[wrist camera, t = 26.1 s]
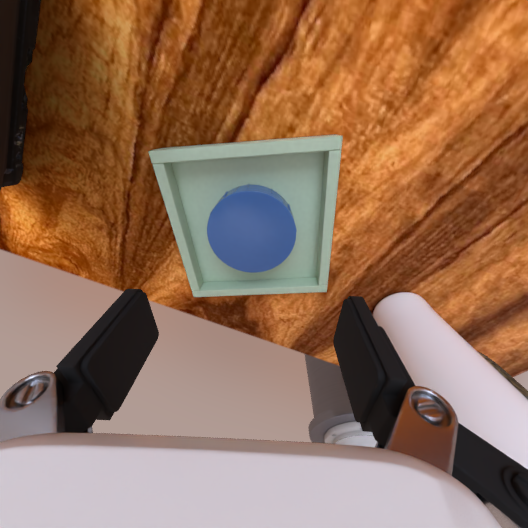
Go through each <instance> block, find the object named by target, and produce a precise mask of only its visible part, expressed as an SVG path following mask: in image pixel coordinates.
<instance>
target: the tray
mask: <svg viewBox="0 0 528 528" xmlns="http://www.w3.org/2000/svg"><path fill="white" fill-rule="evenodd" d="M342 138H343V137H342V136H340V135H335V134H334V135H321V136H309V137H296V138H283V139H271V140H258V141H245V142H233V143H220V144H207V145H195V146H182V147H169V148H159V149H155V150H151V151H148V152H149V156H150V159H151V162H152V164H153V168H154V171H155V174H156V178H157V181H158V184H159V187H160V190H161V194H162V197H163V200H164V203H165V206H166V210H167V213H168V216H169V219H170V222H171V226H172V229H173V232H174V235H175V238H176V242H177V245H178V248H179V251H180V254H181V258H182V261H183V264H184V267H185V271H186V274H187V277H188V280H189V283H190V287H191V290H192V293H193V296H194V297H211V296H237V295H262V294H287V293H312V292H327V285H328V275H329V265H330V255H331V246H332V236H333V226H334V217H335V207H336V197H337V188H338V178H339V168H340V158H341V148H342ZM248 184H251V185H261V186H265V187H268V188H270V189H271V188H272V189H273V190H274V191H276V192H277V193H278V194H280V195H281V196H282V197H283V198H284V199H285V200H286V202H287V203H288V204H290V208H291V211H292V214H293V217H294V221H295V225H296V229H297V232H296V241H295V245H294V247H293V250H292V251H291V253H290V255H289V256H288V257H287V258H286V259H285V260H284V261H283V262H282V263H281V264H280V265H278V266H277V267H275V268H273V269H270V270H267V271H264V272H257V273H250V272H243V271H239V270H236V269H234V268H232V267H230V266H228V265H226V264H225V263H224V262H222V261H221V260H220V259H219V258H218V257H217V256H216V254H215V253H214V252H213V250H212V248H211V246H210V244H209V241H208V236H207V224H208V219H209V216H210V213H211V211H212V210H213V208H214V207H215V206H216V204H217V203H218V201H219V200H220V199H221V197H222V196H223V195H224V194H225V193H226V191H227V192H228V191H230V190H232V189H234V188H236V187H239V186H242V185H248Z"/></svg>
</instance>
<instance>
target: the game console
mask: <svg viewBox="0 0 528 528" xmlns="http://www.w3.org/2000/svg"><path fill="white" fill-rule="evenodd" d="M40 3H41V0H0V190H1V187H5V186H10V185H16V184H18V183H19V182H20V181H21V177H22V173H23V163H22V157H23V148H24V139H25V130H26V121H27V113H28V109H27V96H26V92H25V88H24V80H25V71H26V68H27V66H28V65H29V64H30V63H31V62H32V54H33V49H35V45H36V37H37V28H38V20H39V11H40Z"/></svg>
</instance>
